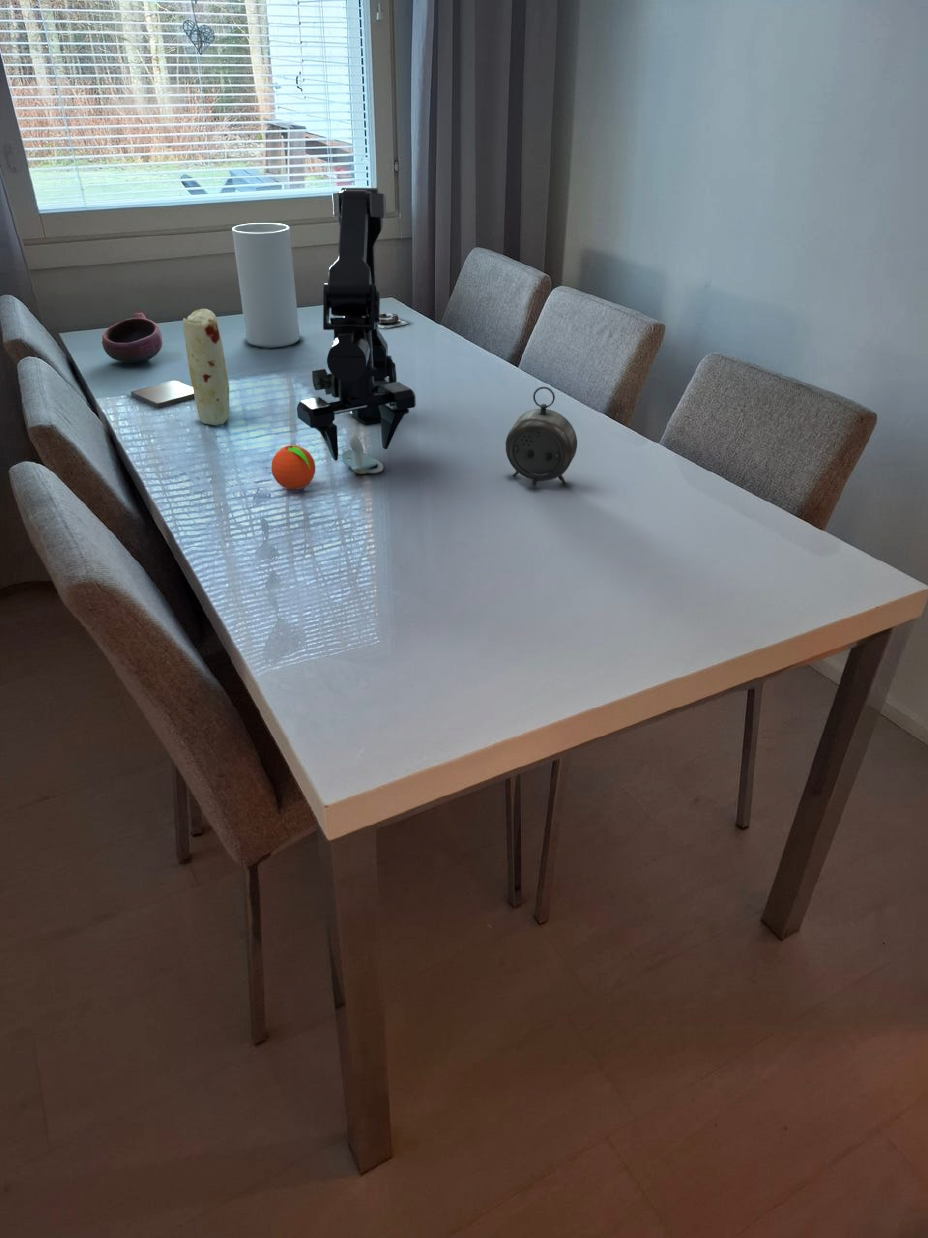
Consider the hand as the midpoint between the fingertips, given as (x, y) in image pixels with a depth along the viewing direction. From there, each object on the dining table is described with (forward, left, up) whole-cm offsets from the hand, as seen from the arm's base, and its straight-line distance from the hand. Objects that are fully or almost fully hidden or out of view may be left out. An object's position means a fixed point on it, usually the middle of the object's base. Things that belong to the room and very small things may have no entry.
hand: (360, 454), depth 144 cm
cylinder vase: (-16, -78, -3) cm, 80 cm away
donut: (-47, -78, -3) cm, 91 cm away
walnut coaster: (+17, -53, -3) cm, 56 cm away
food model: (+13, -35, -3) cm, 38 cm away
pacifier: (-1, 0, -3) cm, 3 cm away
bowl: (+16, -81, -3) cm, 83 cm away
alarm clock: (-22, +20, -3) cm, 30 cm away
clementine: (+12, +1, -3) cm, 12 cm away
